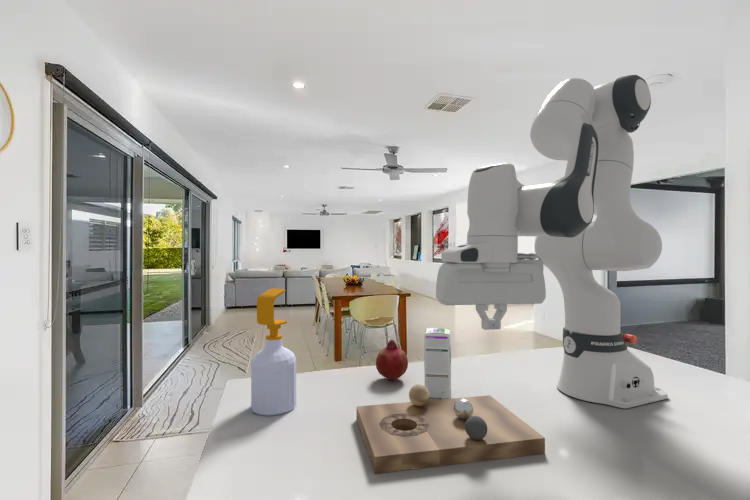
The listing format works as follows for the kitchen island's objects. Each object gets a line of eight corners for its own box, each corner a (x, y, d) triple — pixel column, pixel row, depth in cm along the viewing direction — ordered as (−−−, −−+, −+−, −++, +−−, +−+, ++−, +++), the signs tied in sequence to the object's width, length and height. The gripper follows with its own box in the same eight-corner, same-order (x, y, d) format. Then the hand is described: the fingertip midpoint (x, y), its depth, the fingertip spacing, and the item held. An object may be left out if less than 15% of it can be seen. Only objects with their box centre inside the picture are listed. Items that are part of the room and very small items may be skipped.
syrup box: (451, 399, 83) (451, 333, 83) (423, 397, 84) (423, 332, 84) (451, 390, 88) (451, 328, 88) (425, 388, 90) (425, 326, 89)
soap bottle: (304, 402, 81) (304, 288, 81) (276, 420, 73) (276, 292, 73) (271, 395, 85) (271, 286, 85) (241, 411, 77) (241, 290, 77)
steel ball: (468, 413, 70) (468, 394, 70) (476, 422, 67) (476, 402, 67) (450, 415, 69) (450, 396, 69) (458, 424, 66) (458, 404, 66)
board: (489, 407, 79) (489, 395, 79) (544, 453, 61) (544, 437, 61) (356, 419, 73) (356, 406, 73) (374, 473, 56) (374, 456, 56)
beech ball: (425, 400, 76) (425, 380, 76) (432, 409, 72) (432, 388, 72) (406, 402, 75) (406, 382, 75) (412, 410, 71) (412, 389, 71)
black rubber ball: (481, 432, 63) (481, 411, 63) (491, 443, 60) (491, 420, 60) (461, 434, 62) (461, 413, 62) (470, 445, 59) (470, 422, 59)
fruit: (413, 378, 97) (413, 338, 97) (398, 387, 90) (398, 345, 90) (386, 372, 101) (386, 334, 101) (369, 381, 94) (369, 341, 94)
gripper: (532, 253, 74) (532, 324, 74) (433, 252, 70) (432, 327, 70) (554, 253, 68) (553, 330, 68) (446, 252, 64) (445, 334, 64)
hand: (490, 329), depth 69 cm, fingers closed
